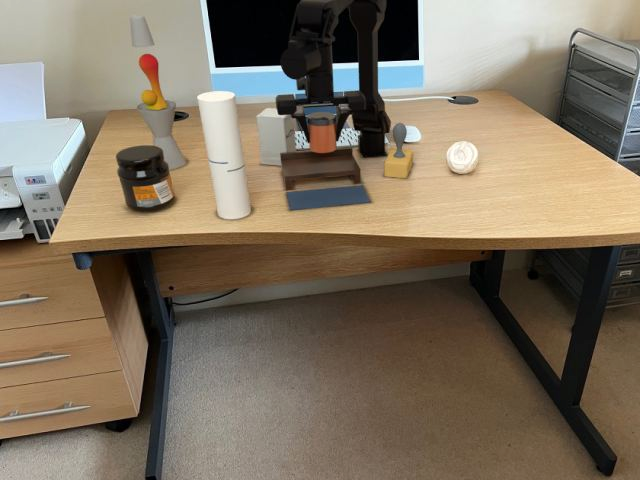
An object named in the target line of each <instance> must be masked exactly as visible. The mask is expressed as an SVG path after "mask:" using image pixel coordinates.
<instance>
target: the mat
mask: <svg viewBox="0 0 640 480" xmlns="http://www.w3.org/2000/svg"><path fill="white" fill-rule="evenodd" d="M286 197H287V202H288V206H289V210H290V211H299V210H307V209H308V210H309V209H319V208H329V207H340V206H350V205H359V204H360V205H361V204H370V203H371V200H370V198H369V195H368V193H367V192H366V189H365V187H364V186H363V184H361V185H349V186H338V187H329V188H327V187H326V188H315V189H303V190H294V191H286Z"/></svg>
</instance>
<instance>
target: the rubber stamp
mask: <svg viewBox="0 0 640 480" xmlns="http://www.w3.org/2000/svg"><path fill="white" fill-rule="evenodd" d="M407 134H408V130H407V127H406V125H405V124H404V123H402V122H398V123H396V124H395V125H393V128H392V136H393V139H394V142H395V145H396V148H391V149H390V151H389V153H388V154H387V157H386V159H385V161H384V163H383V176H384V177H386V178H387V177H388V178H398V179H406V178H408V176H409V173H410V171H411V168H412V167H413V166H412V165H413V163H414V151H413V150H412V149H403V146H404V143H405V140H406V138H407Z"/></svg>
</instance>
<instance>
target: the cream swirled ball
mask: <svg viewBox="0 0 640 480" xmlns="http://www.w3.org/2000/svg"><path fill="white" fill-rule="evenodd" d="M479 158H480V157H479V150H478V149H477V147H476V146H475V144H473V143H471V142H468V141H467V140H463V141H462V140H461V141H457V142H455V143H453V144H452V145H450V147H449V148H448V150H447V152H446V155H445V159H446V163H447V166H448V168H449V169H450V170H451V171H452V172H453V173H456V174H459V175H465V174H469V173H471V172H472V171H474V170H475V169H476V167H477V165H478V162H479Z"/></svg>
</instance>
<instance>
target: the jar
mask: <svg viewBox="0 0 640 480" xmlns="http://www.w3.org/2000/svg"><path fill="white" fill-rule="evenodd" d="M306 121H307V127H308V132H309V137H310V143H308V144H309V150H311V151H313V152H316V153H328V152H332V151H334V150H336V148H338V147H337V143H338V142H337V141H336V113H333V112H328V111H315V112H311V113H309V114H307V116H306Z"/></svg>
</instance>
